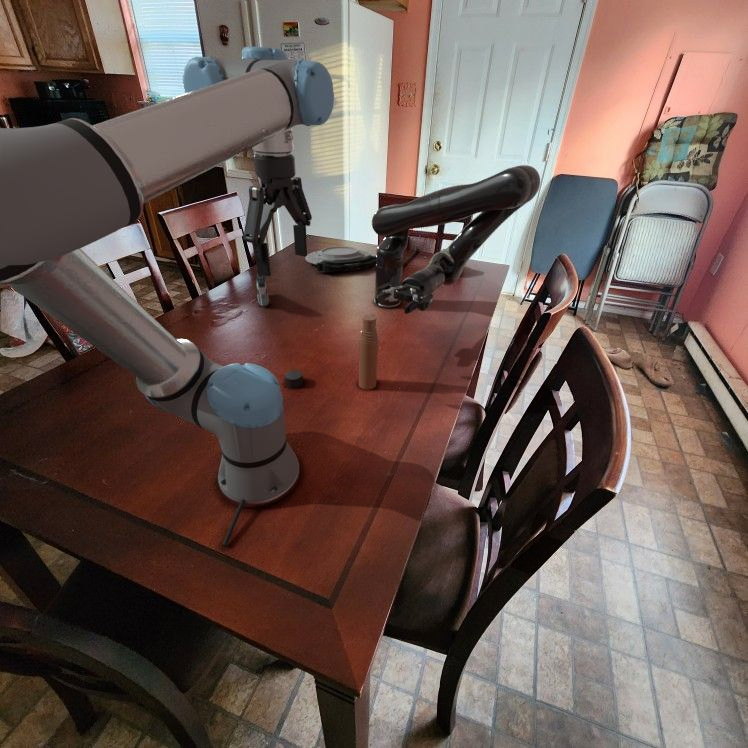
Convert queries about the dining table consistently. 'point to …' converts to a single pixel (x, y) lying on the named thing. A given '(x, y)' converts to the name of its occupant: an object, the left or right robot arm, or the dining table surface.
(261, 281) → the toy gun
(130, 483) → the dining table surface
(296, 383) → the cap
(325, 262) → the brake disc
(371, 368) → the bottle
